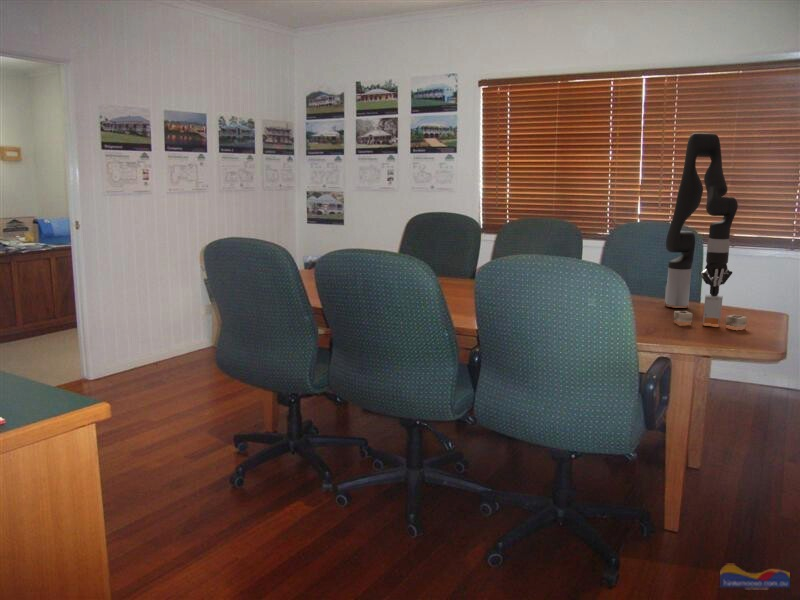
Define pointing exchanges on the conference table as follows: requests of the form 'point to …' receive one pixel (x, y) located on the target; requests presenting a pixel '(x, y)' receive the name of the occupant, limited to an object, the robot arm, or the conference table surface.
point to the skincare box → (712, 309)
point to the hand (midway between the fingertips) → (713, 295)
